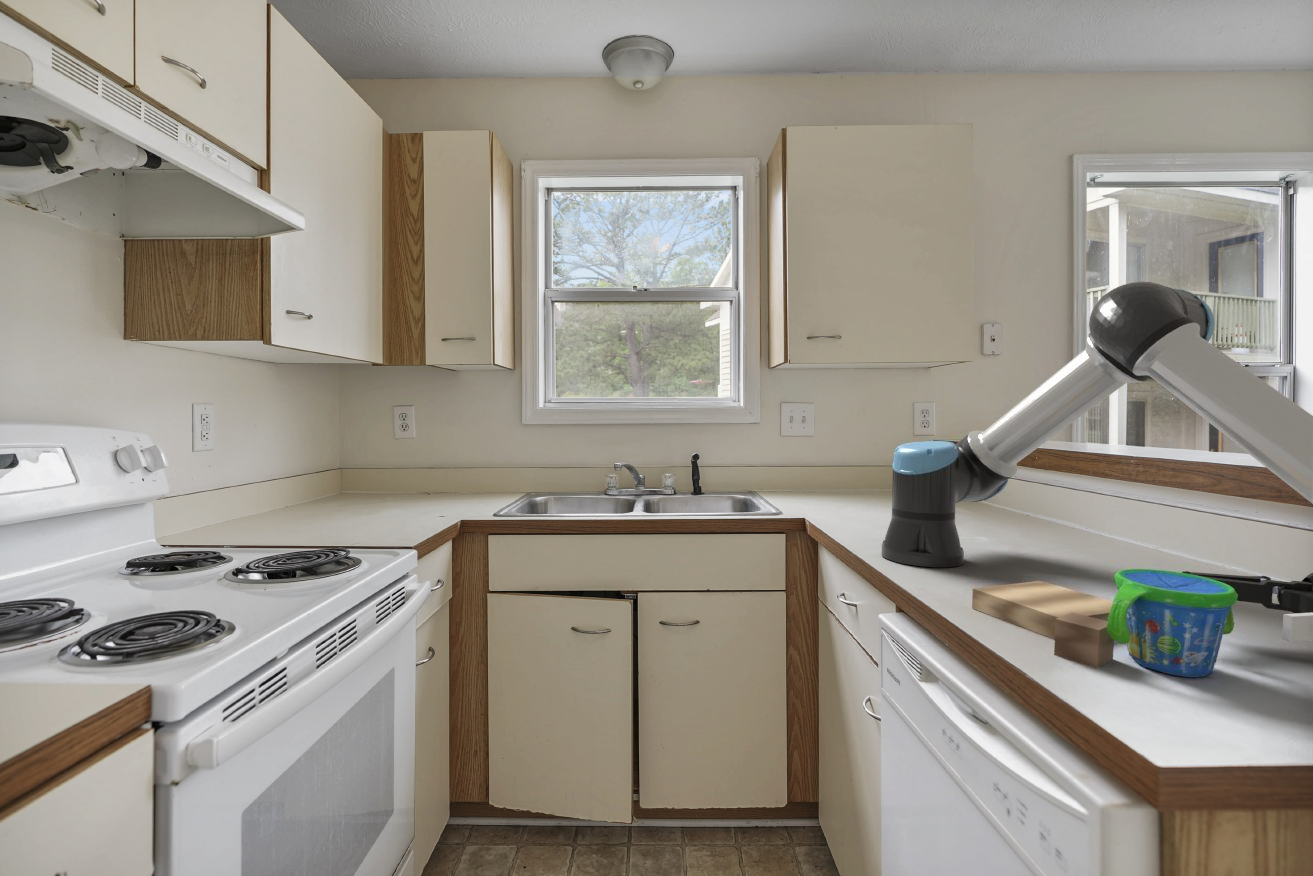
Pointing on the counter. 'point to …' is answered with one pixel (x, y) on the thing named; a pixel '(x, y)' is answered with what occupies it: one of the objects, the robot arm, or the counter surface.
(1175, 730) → the counter surface
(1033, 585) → the oak base slab
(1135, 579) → the snack cup
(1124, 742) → the counter surface
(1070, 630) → the walnut block
